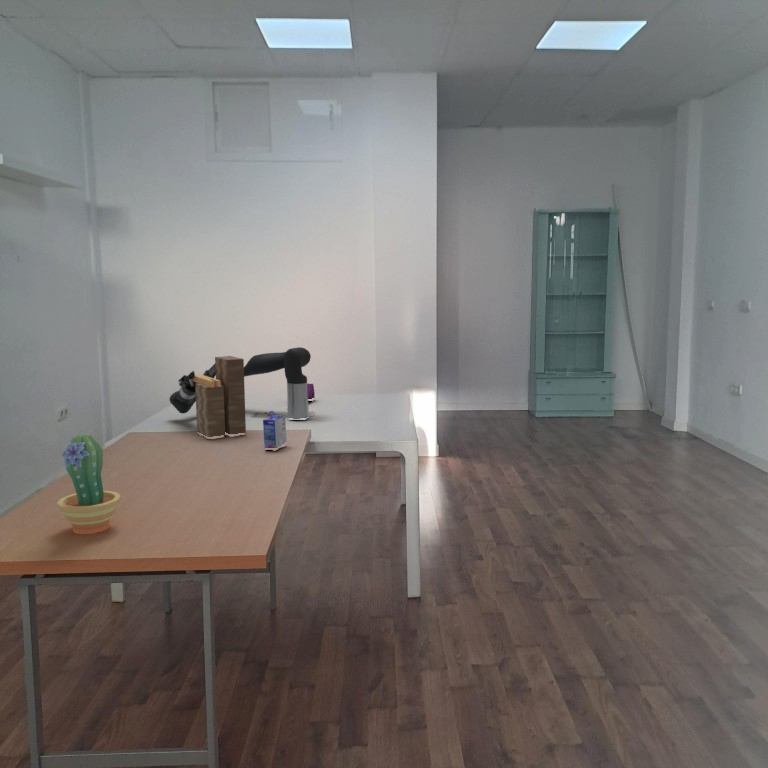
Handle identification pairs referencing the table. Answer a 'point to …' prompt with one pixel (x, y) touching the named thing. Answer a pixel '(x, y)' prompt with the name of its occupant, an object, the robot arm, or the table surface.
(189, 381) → the robot arm
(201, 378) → the slotted slat
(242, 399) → the step stand
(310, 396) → the mounting bracket
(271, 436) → the ink cartridge box
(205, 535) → the table surface
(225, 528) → the table surface
